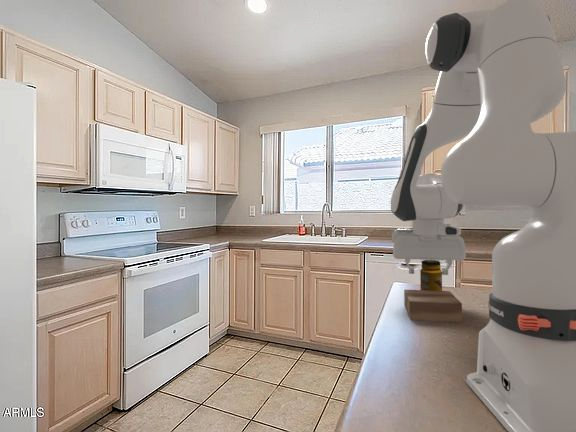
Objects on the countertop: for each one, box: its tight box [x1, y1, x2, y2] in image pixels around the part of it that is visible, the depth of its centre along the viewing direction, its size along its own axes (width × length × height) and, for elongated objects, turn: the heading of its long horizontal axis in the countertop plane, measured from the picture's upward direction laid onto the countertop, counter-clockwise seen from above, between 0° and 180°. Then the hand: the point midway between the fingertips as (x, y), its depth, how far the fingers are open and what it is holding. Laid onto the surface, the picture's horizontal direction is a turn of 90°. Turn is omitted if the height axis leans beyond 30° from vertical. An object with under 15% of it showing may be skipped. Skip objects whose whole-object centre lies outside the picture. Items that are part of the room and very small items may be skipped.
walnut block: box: [403, 289, 463, 323], centre depth 87 cm, size 12×12×5 cm
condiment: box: [419, 259, 443, 291], centre depth 99 cm, size 7×8×12 cm
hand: (428, 274), depth 99 cm, fingers open, 8 cm apart
